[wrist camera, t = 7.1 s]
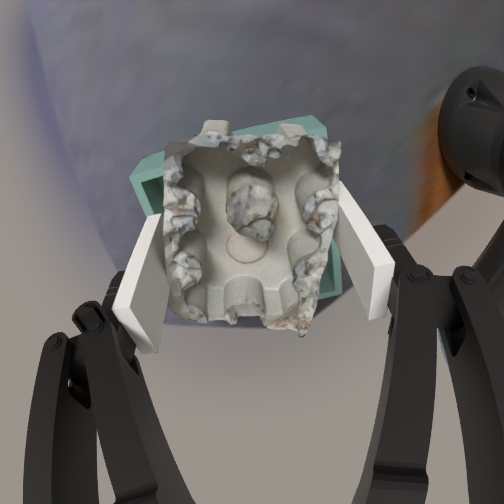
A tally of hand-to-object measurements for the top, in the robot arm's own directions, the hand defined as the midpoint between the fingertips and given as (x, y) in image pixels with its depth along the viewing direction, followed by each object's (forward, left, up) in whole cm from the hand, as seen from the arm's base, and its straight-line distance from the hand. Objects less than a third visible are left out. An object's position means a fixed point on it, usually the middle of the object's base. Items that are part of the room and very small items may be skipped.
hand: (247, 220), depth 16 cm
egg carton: (0, 0, -1) cm, 1 cm away
